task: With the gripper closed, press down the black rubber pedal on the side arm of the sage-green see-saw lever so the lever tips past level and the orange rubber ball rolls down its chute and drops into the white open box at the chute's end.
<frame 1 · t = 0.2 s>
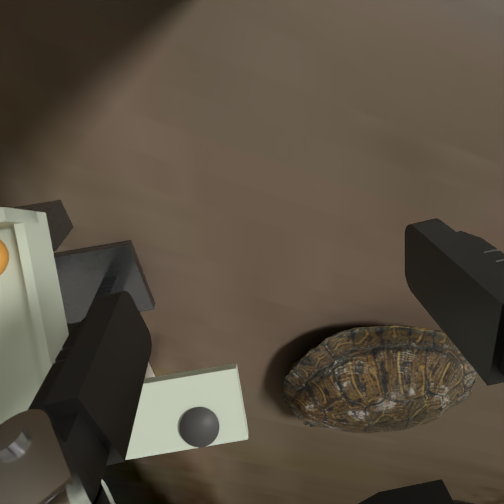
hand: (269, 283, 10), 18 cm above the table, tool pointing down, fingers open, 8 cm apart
lever: (89, 339, 21), point 10 cm above the table, hinge at -30.1°, touching ball
turtle shell: (363, 359, 40), on the table
fulcrum: (71, 286, 31), on the table
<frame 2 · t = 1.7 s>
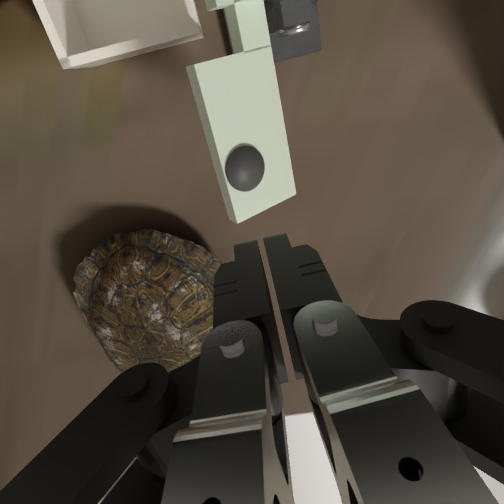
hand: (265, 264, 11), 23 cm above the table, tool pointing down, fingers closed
lever: (333, 33, 20), point 10 cm above the table, hinge at -30.1°, touching ball
turtle shell: (165, 296, 40), on the table
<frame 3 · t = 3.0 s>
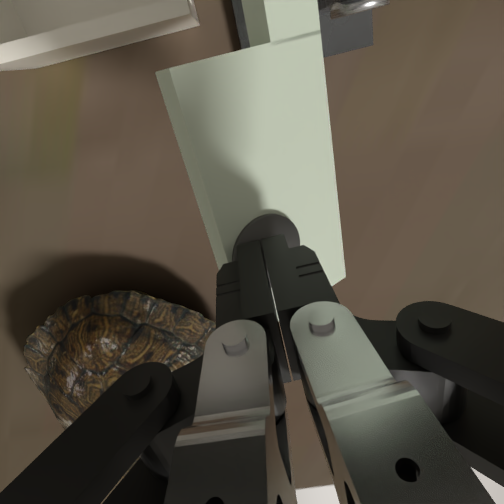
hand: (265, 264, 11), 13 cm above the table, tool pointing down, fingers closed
lever: (431, 10, 11), point 10 cm above the table, hinge at -29.5°, touching ball, gripper
turtle shell: (151, 362, 31), on the table
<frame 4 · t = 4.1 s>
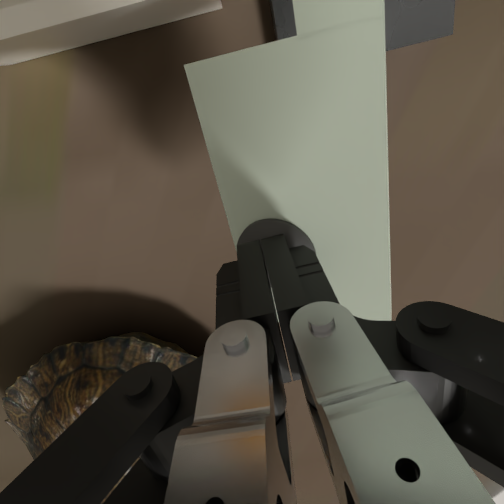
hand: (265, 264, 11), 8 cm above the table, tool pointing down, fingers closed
turtle shell: (155, 407, 27), on the table
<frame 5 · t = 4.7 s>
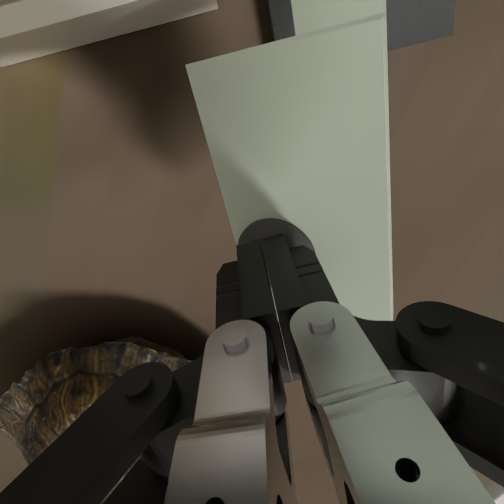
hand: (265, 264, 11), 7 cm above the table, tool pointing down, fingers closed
turtle shell: (152, 412, 26), on the table
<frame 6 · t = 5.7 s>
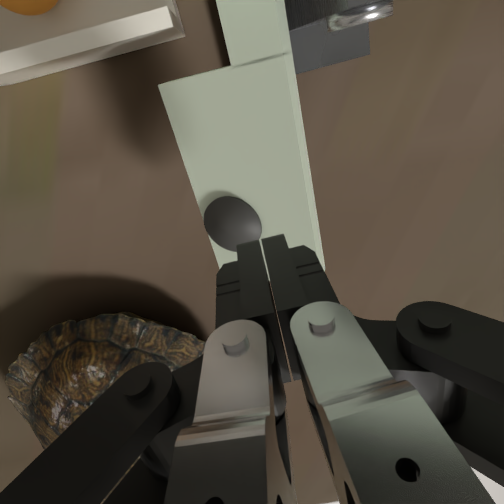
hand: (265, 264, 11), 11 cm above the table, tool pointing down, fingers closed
lever: (418, 30, 8), point 11 cm above the table, hinge at 26.0°
turtle shell: (143, 384, 29), on the table
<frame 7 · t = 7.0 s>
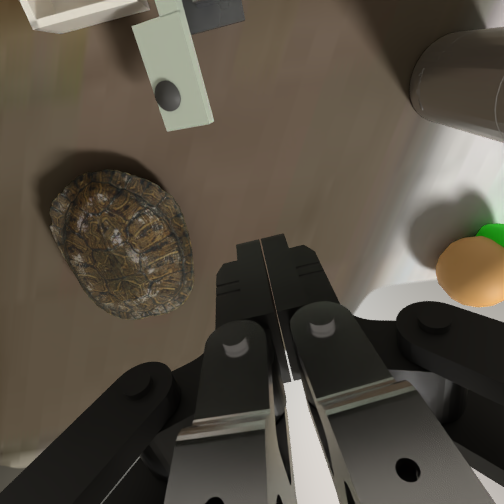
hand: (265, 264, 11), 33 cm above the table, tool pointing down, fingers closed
turtle shell: (131, 236, 46), on the table
green and tan spheres: (464, 253, 52), on the table
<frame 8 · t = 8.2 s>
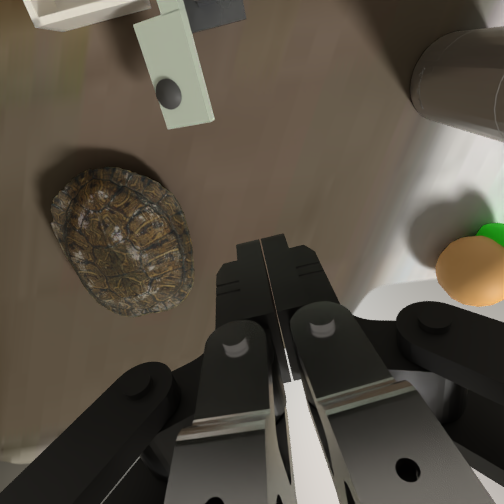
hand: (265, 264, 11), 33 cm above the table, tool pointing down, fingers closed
turtle shell: (132, 234, 46), on the table
green and tan spheres: (464, 252, 52), on the table
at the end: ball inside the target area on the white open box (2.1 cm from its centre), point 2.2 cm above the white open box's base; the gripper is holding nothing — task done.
